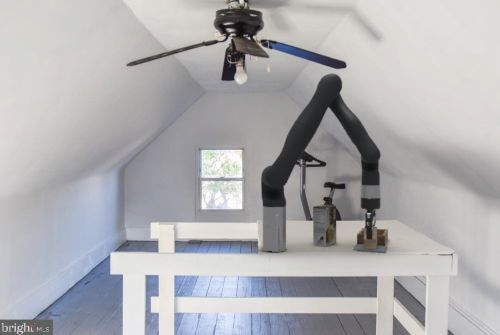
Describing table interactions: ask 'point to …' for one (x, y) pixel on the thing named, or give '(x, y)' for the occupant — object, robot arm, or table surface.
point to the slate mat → (379, 249)
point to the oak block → (371, 243)
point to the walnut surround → (381, 237)
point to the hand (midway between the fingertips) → (370, 237)
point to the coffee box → (324, 225)
